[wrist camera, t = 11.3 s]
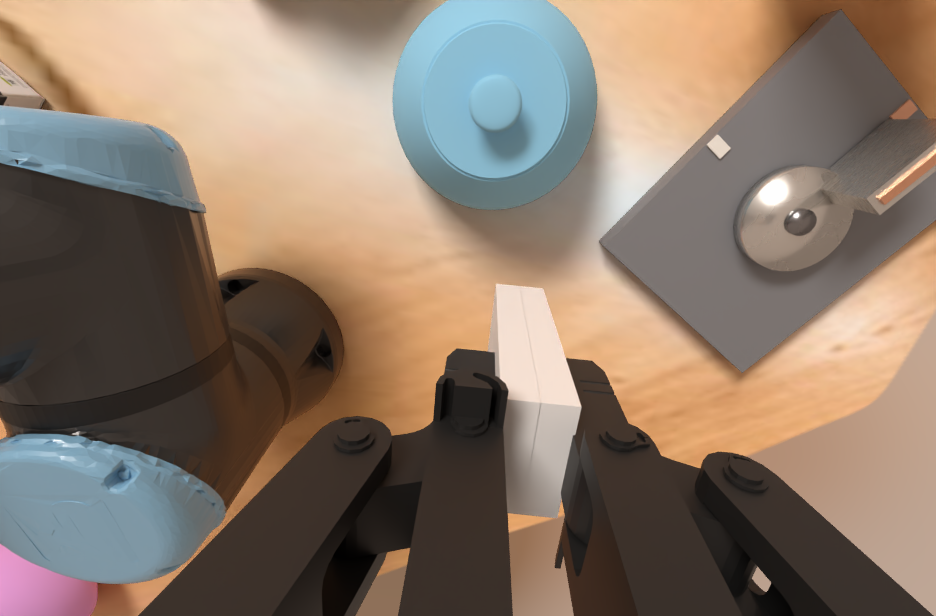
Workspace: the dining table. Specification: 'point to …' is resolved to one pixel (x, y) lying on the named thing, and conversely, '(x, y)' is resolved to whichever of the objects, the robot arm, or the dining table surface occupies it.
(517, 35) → the sugar bowl
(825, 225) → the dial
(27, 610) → the teapot
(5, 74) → the tea box
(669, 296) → the board
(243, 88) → the dining table surface
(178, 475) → the robot arm
